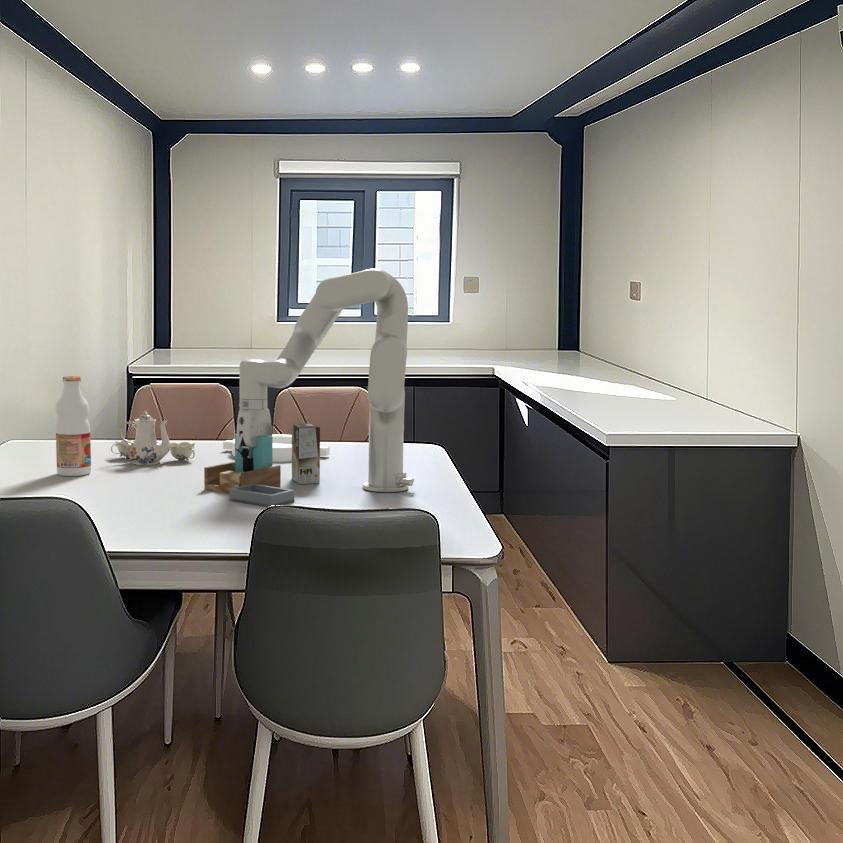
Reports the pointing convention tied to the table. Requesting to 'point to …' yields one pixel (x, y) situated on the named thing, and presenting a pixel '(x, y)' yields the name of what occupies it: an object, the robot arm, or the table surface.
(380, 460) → the robot arm
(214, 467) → the offcut rack
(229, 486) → the offcut lower
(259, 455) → the teal sheet
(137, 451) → the chinaware
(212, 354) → the table surface
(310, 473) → the coffee box
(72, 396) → the fruit juice
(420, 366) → the table surface
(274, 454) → the white circle with bar
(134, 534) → the table surface
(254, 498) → the charcoal tray
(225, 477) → the offcut upper
